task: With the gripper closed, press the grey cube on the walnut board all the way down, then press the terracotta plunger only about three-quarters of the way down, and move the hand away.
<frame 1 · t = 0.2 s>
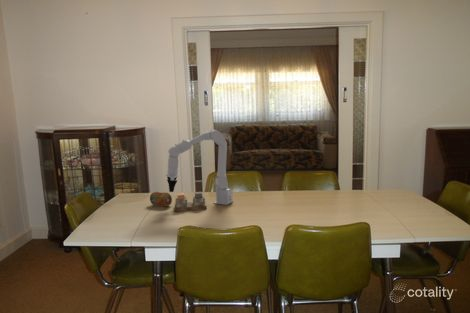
hand: (171, 190, 207), 11 cm above the table, tool pointing down, fingers open, 7 cm apart
terracotta plunger: (181, 197, 206), point 7 cm above the table, slide at 0.0 cm
press board: (190, 207, 207), on the table
tin: (161, 206, 215), on the table
grey cube: (198, 196, 207), point 7 cm above the table, slide at 0.0 cm
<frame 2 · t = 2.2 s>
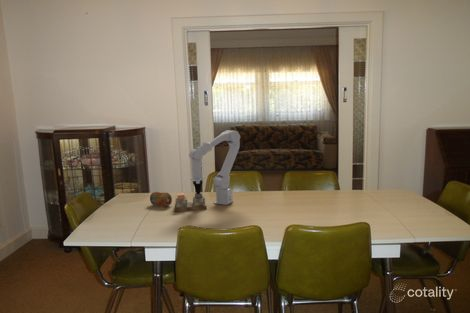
hand: (198, 193, 207), 8 cm above the table, tool pointing down, fingers closed, pressing on grey cube
grey cube: (198, 196, 207), point 6 cm above the table, slide at 0.3 cm, touching gripper
everything else where it was.
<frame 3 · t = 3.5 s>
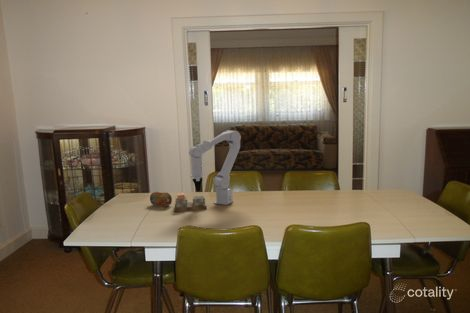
hand: (198, 190, 206), 10 cm above the table, tool pointing down, fingers closed
grey cube: (198, 200, 207), point 4 cm above the table, slide at 2.4 cm
everything else where it was.
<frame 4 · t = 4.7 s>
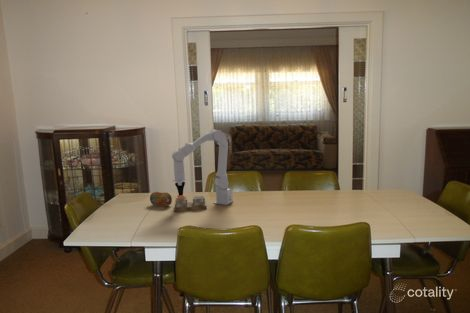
hand: (180, 194, 205), 8 cm above the table, tool pointing down, fingers closed, pressing on terracotta plunger
terracotta plunger: (181, 198, 206), point 6 cm above the table, slide at 0.4 cm, touching gripper
everything else where it was.
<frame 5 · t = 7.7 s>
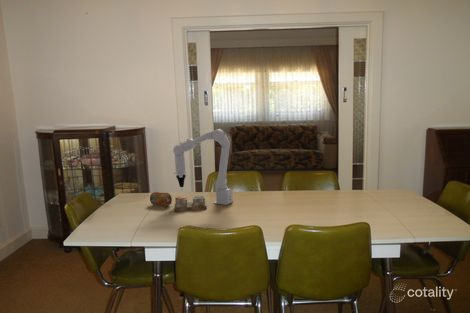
hand: (181, 186, 216), 10 cm above the table, tool pointing down, fingers closed
terracotta plunger: (181, 200, 206), point 5 cm above the table, slide at 1.8 cm
everything else where it was.
at the end: grey cube slide at 2.4 cm; terracotta plunger slide at 1.8 cm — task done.
